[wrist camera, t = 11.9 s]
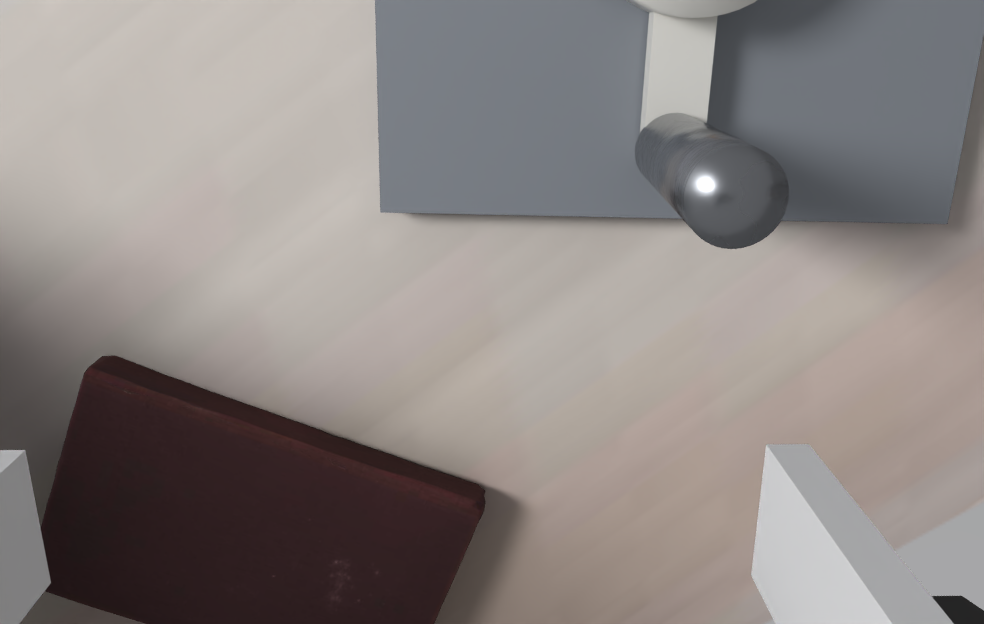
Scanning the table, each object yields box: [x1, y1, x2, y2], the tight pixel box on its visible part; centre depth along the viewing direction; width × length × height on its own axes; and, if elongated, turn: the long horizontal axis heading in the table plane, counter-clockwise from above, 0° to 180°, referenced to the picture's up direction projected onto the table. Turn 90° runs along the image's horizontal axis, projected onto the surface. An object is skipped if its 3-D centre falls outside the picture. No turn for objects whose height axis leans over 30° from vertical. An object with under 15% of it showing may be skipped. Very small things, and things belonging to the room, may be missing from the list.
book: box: [41, 356, 485, 624], centre depth 42 cm, size 12×19×3 cm, turn 69°
